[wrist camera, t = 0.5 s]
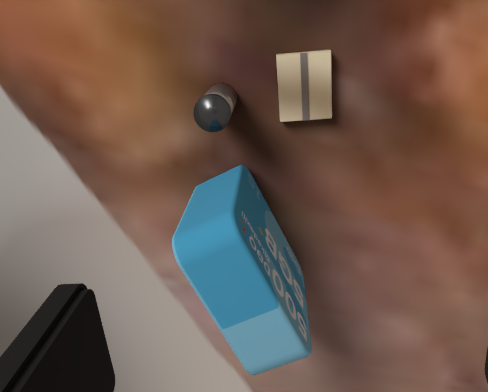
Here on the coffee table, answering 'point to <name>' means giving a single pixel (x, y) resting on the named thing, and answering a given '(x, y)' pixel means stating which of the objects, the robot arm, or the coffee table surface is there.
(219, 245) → the data package
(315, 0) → the coffee table surface
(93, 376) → the robot arm
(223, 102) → the shiny grey cylinder
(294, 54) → the beige striped flat block
